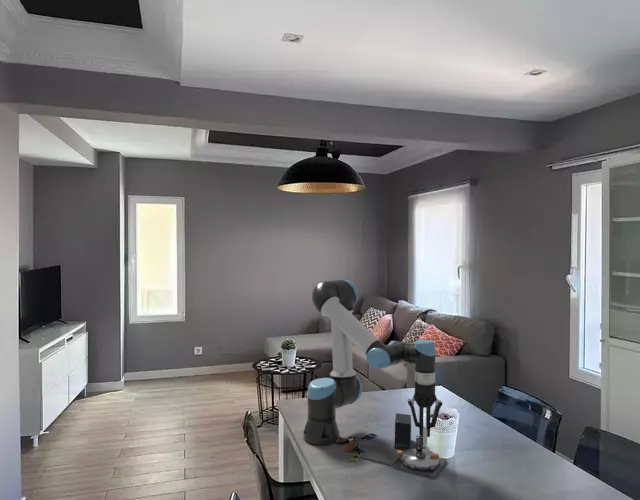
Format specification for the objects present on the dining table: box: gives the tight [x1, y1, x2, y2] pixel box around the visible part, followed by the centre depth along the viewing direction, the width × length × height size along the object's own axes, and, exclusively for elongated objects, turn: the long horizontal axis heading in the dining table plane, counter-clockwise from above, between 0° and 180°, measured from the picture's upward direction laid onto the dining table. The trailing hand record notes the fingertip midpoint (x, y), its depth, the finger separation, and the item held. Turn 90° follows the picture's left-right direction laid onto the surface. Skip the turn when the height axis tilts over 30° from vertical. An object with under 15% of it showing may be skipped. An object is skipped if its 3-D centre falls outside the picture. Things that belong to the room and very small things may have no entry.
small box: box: [393, 412, 412, 450], centre depth 186 cm, size 11×6×10 cm, turn 168°
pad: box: [359, 443, 406, 467], centre depth 175 cm, size 13×13×1 cm
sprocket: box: [400, 435, 442, 470], centre depth 168 cm, size 14×13×7 cm
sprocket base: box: [393, 457, 448, 480], centre depth 168 cm, size 15×15×1 cm
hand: (424, 445), depth 172 cm, fingers closed
